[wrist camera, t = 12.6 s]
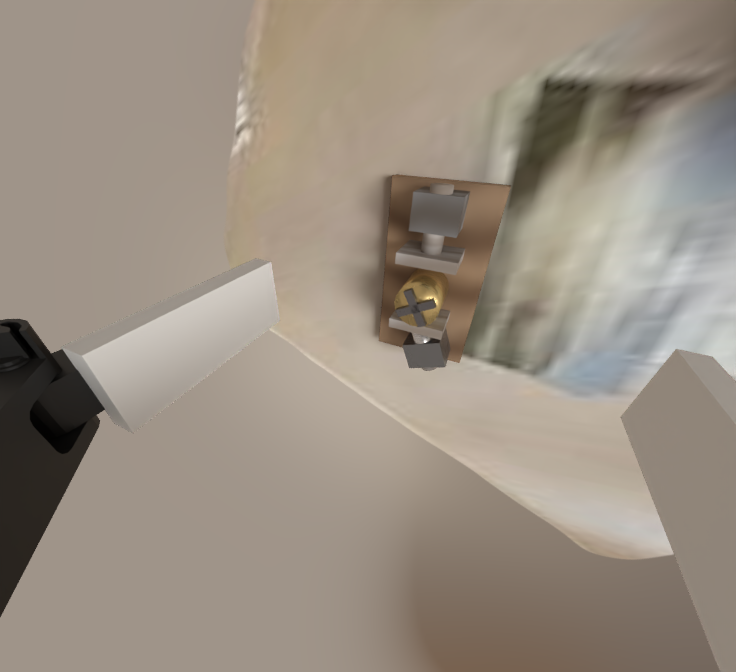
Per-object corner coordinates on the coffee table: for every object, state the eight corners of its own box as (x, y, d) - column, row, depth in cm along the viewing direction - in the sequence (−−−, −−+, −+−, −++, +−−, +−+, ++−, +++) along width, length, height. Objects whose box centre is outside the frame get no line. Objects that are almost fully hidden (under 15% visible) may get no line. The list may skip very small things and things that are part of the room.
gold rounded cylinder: (403, 273, 37) (385, 294, 32) (441, 260, 34) (428, 281, 29) (417, 307, 39) (402, 333, 34) (454, 298, 36) (444, 324, 31)
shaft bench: (396, 174, 33) (374, 180, 27) (510, 185, 29) (510, 194, 24) (382, 335, 45) (365, 360, 40) (460, 356, 42) (453, 387, 36)
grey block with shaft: (407, 315, 40) (398, 330, 37) (442, 311, 37) (435, 327, 34) (418, 354, 42) (410, 371, 39) (451, 352, 40) (446, 371, 37)
